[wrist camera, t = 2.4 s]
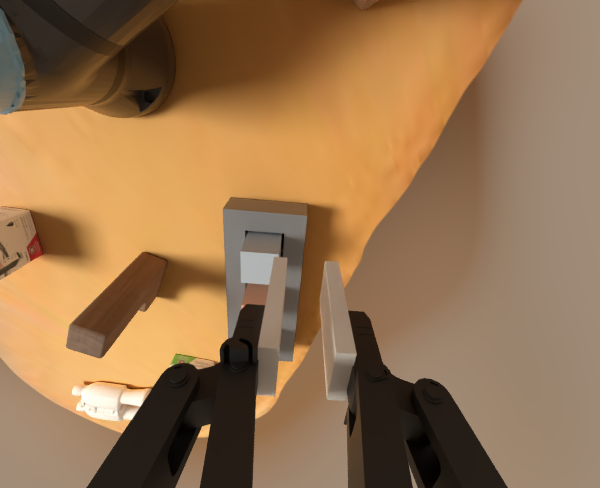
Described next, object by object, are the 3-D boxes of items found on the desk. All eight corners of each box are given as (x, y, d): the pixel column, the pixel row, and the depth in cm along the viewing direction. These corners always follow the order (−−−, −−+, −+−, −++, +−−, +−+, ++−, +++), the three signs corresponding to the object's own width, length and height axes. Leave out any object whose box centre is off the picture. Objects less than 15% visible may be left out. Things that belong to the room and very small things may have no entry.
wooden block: (156, 297, 55) (96, 381, 39) (132, 288, 54) (60, 370, 38) (168, 260, 51) (106, 337, 35) (142, 250, 50) (67, 324, 34)
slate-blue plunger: (249, 257, 46) (240, 282, 40) (249, 228, 44) (240, 251, 38) (280, 259, 47) (276, 285, 40) (282, 231, 44) (278, 254, 38)
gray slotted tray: (234, 337, 59) (229, 357, 55) (230, 197, 45) (222, 208, 41) (293, 341, 60) (292, 361, 55) (307, 203, 46) (307, 215, 41)
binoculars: (154, 411, 72) (145, 430, 68) (87, 402, 71) (73, 421, 67) (152, 383, 67) (142, 403, 63) (80, 374, 66) (65, 393, 62)
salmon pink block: (249, 301, 51) (241, 330, 44) (249, 277, 48) (241, 305, 42) (277, 303, 51) (274, 333, 45) (279, 280, 48) (275, 307, 42)
